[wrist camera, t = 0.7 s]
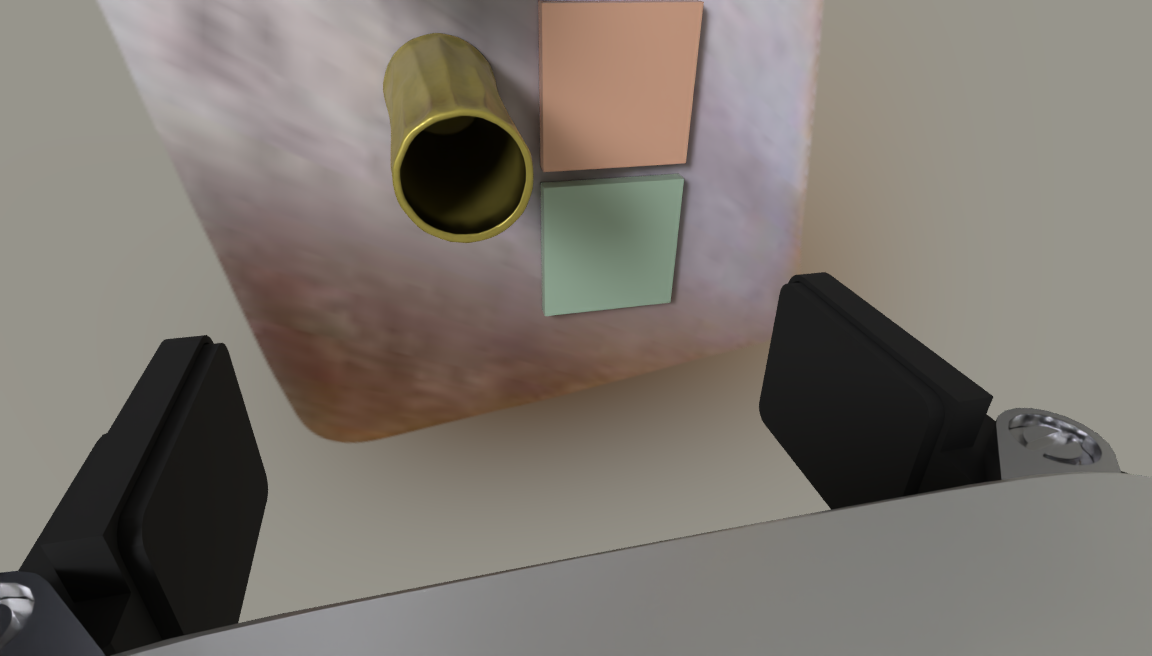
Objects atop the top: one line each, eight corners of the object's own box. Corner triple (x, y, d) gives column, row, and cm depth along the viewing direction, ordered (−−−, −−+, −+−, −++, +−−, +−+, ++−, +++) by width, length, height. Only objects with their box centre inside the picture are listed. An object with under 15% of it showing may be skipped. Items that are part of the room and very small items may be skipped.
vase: (359, 72, 34) (342, 154, 23) (457, 8, 34) (492, 59, 22) (426, 167, 38) (442, 281, 26) (516, 111, 37) (574, 202, 26)
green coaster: (540, 182, 40) (543, 188, 39) (678, 173, 42) (684, 178, 41) (542, 308, 45) (544, 316, 44) (665, 295, 46) (670, 302, 46)
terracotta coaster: (538, 0, 34) (541, 3, 34) (696, 0, 36) (703, 1, 35) (540, 166, 39) (543, 172, 38) (679, 158, 41) (685, 163, 40)
